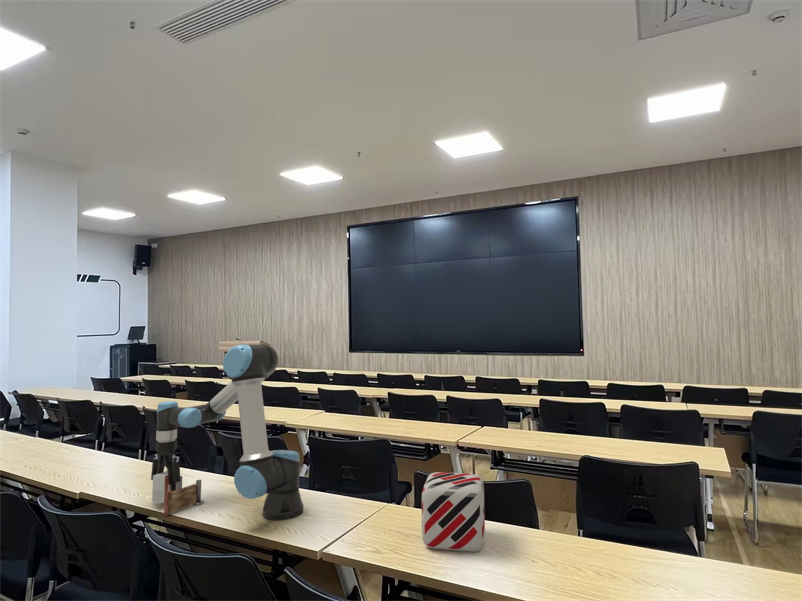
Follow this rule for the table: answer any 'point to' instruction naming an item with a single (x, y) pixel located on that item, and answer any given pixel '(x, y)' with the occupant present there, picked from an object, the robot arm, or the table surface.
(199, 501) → the pivot post
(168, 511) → the gate
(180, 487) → the latch post
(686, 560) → the table surface
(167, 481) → the small box
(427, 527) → the decorative cube
